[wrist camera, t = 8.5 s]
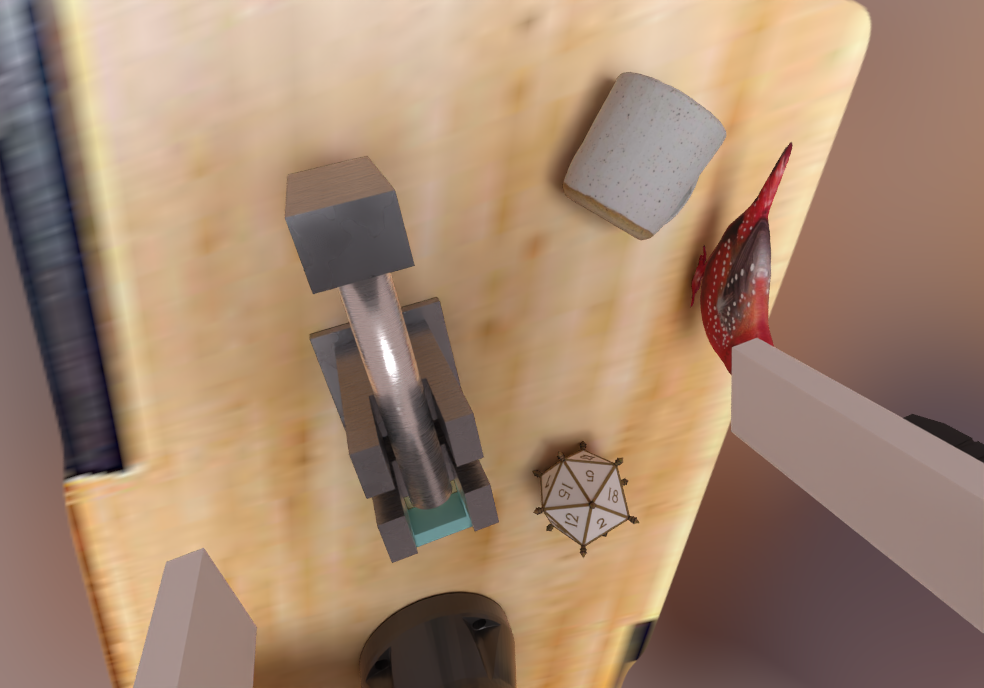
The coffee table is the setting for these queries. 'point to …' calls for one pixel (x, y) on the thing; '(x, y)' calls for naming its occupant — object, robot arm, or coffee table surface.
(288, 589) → the coffee table surface
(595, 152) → the ceramic mug
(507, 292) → the coffee table surface
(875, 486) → the robot arm
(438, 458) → the grey piece
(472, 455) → the stand
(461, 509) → the frame
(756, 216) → the decorative bird figurine
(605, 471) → the game die
